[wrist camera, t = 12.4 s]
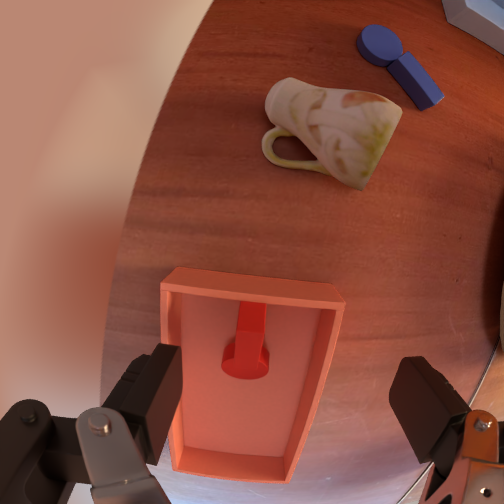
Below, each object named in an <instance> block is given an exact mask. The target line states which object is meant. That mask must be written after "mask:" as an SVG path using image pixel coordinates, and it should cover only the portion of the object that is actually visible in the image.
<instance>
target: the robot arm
mask: <svg viewBox="0 0 504 504" xmlns="http://www.w3.org/2000/svg"><path fill="white" fill-rule="evenodd" d="M182 389H183V372H182V350H181V347H180V346H175V345H169V344H163V343H159V344H158V345H157V347H156V348H155V350H154V351H153V353H152V355H151V356H150V355H145V354H143V355H141V356H139V357H138V358H136V359H135V360H133V361H132V362H131V364H130V365H129V366H128V368H127V369H126V372H124V374H123V375H122V377H121V380H119V381H118V383H117V384H116V386H115V387H114V389H113V390H112V392H111V393H110V395H109V396H108V398H107V399H106V401H105V402H104V404H103V405H102V407H96V408H91V409H88V410H86V411H84V412H83V413H82V414H80V416H79V417H78V418H66V417H58V416H51V414H50V412H49V410H48V408H47V406H46V405H45V404H44V403H42V402H40V401H38V400H33V399H26V400H22V401H19V402H17V403H16V404H14V405H13V406H12V407H11V408H10V409H9V411H8V412H7V413H6V414H5V416H4V417H3V418H2V419H1V420H0V504H67V502H68V499H69V497H70V495H71V493H72V490H73V488H74V486H75V484H76V483H84V484H91V485H92V488H91V489H90V491H91V495H92V499H93V501H94V504H171V502H170V500H169V499H168V497H167V496H166V494H165V492H164V491H163V489H162V487H161V486H160V484H159V482H158V481H157V479H156V478H155V476H154V475H151V473H150V471H149V470H148V468H147V466H146V463H147V464H151V465H155V466H157V464H158V461H159V458H160V455H161V452H162V449H163V446H164V444H165V441H166V438H167V435H168V432H169V429H170V427H171V424H172V421H173V418H174V415H175V412H176V410H177V407H178V404H179V401H180V398H181V395H182ZM389 402H390V405H391V407H392V409H393V411H394V413H395V415H396V417H397V419H398V421H399V423H400V424H401V426H402V428H403V430H404V432H405V434H406V436H407V438H408V440H409V442H410V444H411V446H412V448H413V450H414V452H415V454H416V456H417V458H418V461H419V463H420V464H422V463H426V462H429V461H433V462H434V464H433V466H432V467H431V469H430V471H429V474H428V477H427V480H426V483H425V486H424V489H423V492H422V495H421V497H420V500H419V503H418V504H504V421H501V422H498V421H497V420H496V418H495V417H494V416H493V415H492V414H490V413H489V412H487V411H484V410H473V411H472V410H471V409H470V407H469V406H468V405H467V404H466V402H465V401H464V400H463V399H462V397H461V396H460V395H459V394H458V393H457V391H456V390H454V388H453V386H452V385H451V384H449V382H448V380H447V379H446V378H445V377H444V376H443V375H442V374H441V373H440V372H438V371H437V370H435V369H434V368H432V366H431V365H430V364H429V363H428V362H427V360H426V359H425V358H424V357H422V356H415V357H405V358H403V359H402V360H401V362H400V365H399V368H398V370H397V373H396V376H395V378H394V381H393V383H392V386H391V388H390V391H389Z"/></svg>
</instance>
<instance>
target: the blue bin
mask: <svg viewBox="0 0 504 504" xmlns="http://www.w3.org/2000/svg"><path fill="white" fill-rule="evenodd" d="M442 4H443V7H444V11H445V15H446V19H447V22H448V23H450V24H452V25H454V26H456V27H458V28H460V29H462V30H463V31H465V32H467V33H469V34H471V35H472V36H474V37H476V38H478V39H479V40H481V41H483V42H484V43H486V44H487V45H489V46H491V47H492V48H494V49H495V50H497V51H498V52H500V53H501V54H503V55H504V0H442Z"/></svg>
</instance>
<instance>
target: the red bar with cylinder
mask: <svg viewBox="0 0 504 504" xmlns="http://www.w3.org/2000/svg"><path fill="white" fill-rule="evenodd" d="M265 318H266V303H257V302H249V301H240V306H239V313H238V320H237V327H236V338H235V343H231V344H229V345H227V346H226V347H225V348H224V351H223V357H222V363H221V368H222V370H223V371H224V372H225V373H226V374H228V375H229V376H232V377H235V378H238V379H245V380H253V379H259V378H262V377H264V376H265V375H267V373H268V371H269V356H270V355H269V352H268V350H267V349H266V348H265V347H263V346H262V343H263V338H264V333H265Z"/></svg>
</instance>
